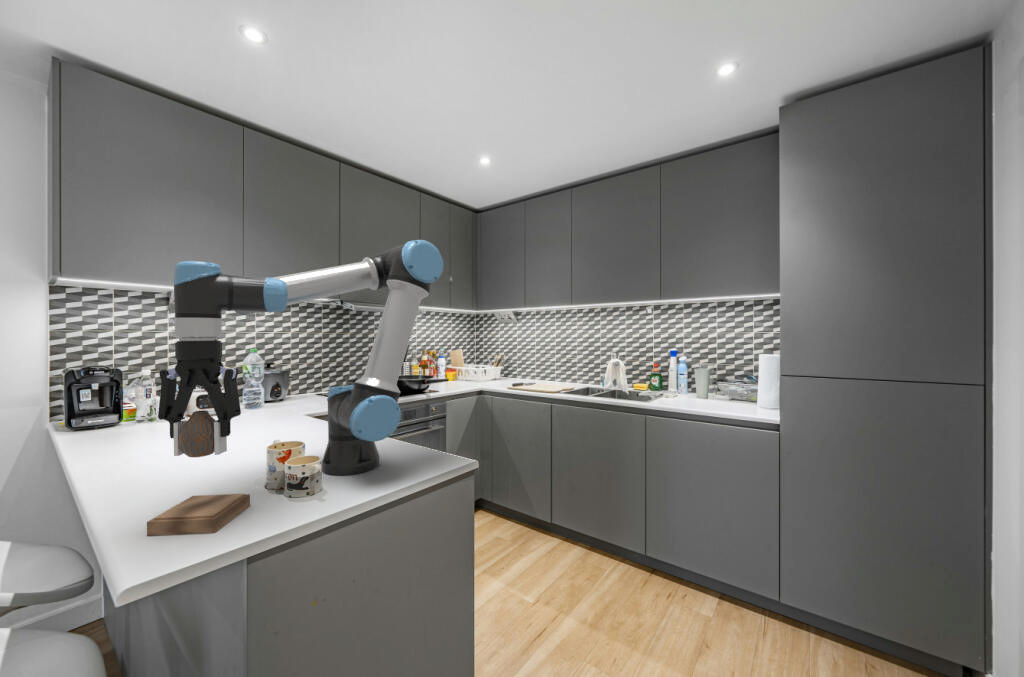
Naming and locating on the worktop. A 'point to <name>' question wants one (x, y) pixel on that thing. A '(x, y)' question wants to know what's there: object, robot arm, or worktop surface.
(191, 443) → the vase
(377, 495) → the worktop surface
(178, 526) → the tray
